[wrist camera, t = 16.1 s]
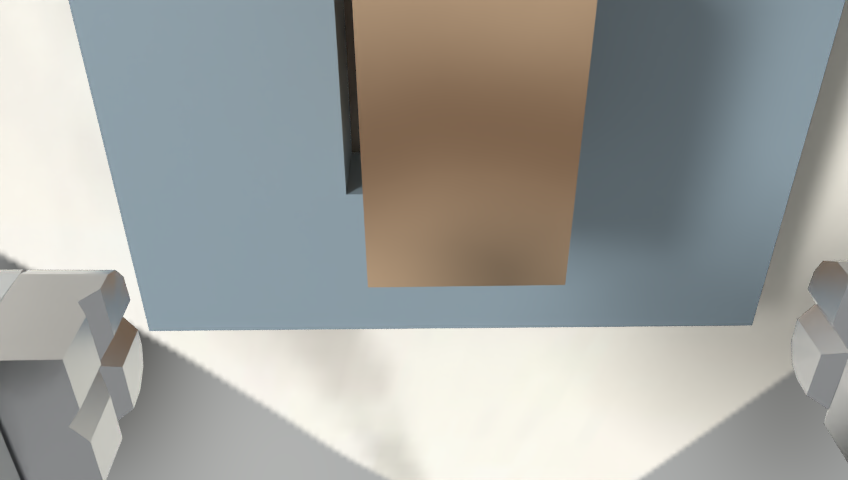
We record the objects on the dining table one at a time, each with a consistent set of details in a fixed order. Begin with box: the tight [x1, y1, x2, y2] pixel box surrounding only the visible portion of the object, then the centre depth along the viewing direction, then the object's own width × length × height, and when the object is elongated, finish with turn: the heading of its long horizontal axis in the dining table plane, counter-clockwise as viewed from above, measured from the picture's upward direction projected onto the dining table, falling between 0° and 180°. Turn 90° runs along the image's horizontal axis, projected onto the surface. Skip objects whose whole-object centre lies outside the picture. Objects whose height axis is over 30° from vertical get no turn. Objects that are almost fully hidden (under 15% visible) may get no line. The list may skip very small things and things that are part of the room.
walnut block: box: [352, 0, 597, 287], centre depth 17 cm, size 7×4×8 cm, turn 0°
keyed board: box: [69, 0, 845, 331], centre depth 19 cm, size 18×18×4 cm
